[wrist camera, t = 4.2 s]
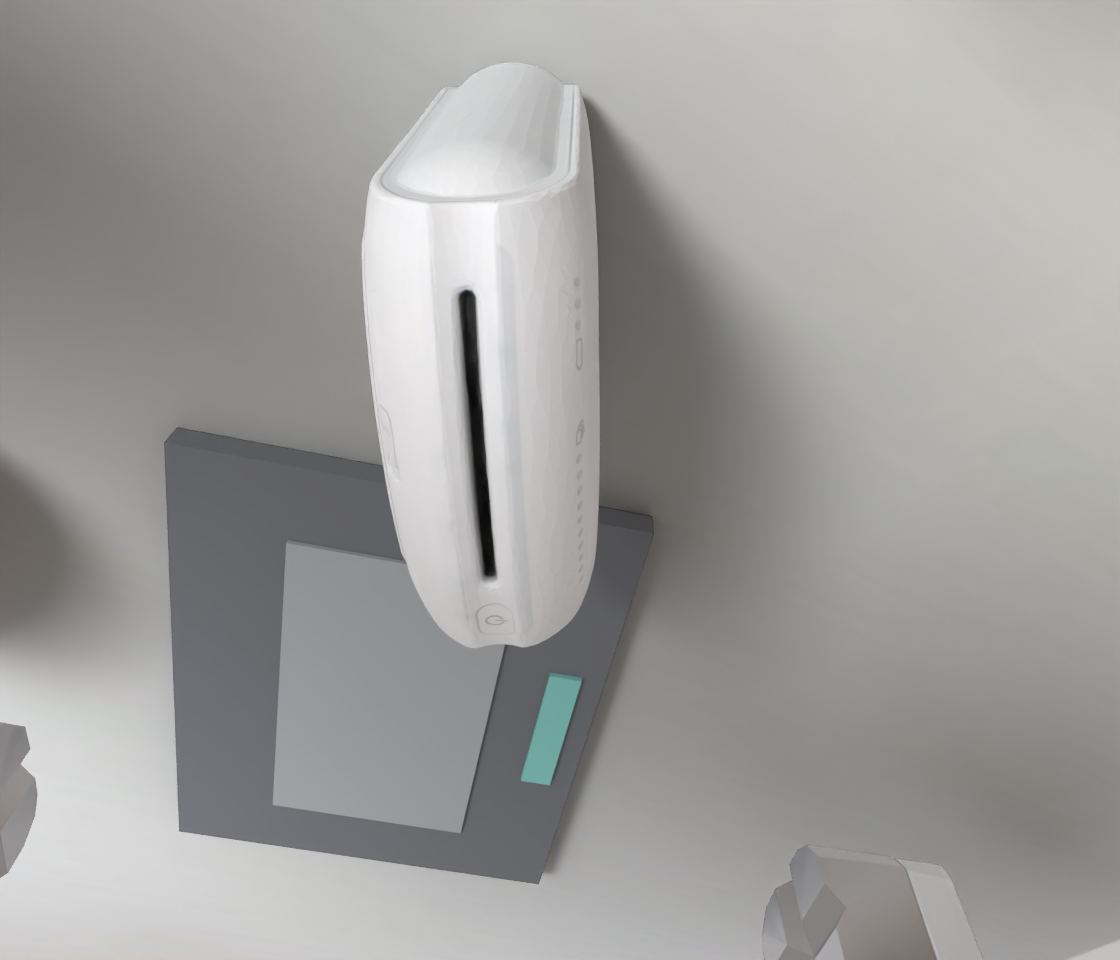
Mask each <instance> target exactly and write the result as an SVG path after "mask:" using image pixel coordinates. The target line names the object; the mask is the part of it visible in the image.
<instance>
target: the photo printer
mask: <svg viewBox="0 0 1120 960" xmlns="http://www.w3.org/2000/svg"><path fill="white" fill-rule="evenodd" d="M362 282H363V299H364V316H365V326H366V338H367V346H368V358H369V368H370V377H371V385H372V393H373V401H374V410H375V417H376V423H377V430H378V436H379V443H380V449H381V456H382V462H383V468H384V474H385V480H386V486H387V491H388V496H389V502H390V507H391V511H392V516H393V520H394V525H395V529H396V533H397V537H398V541H399V545H400V550H401V553H402V555H403V557H404V559H405V561H406V563H407V566H408V570H409V573H410V576H411V578H412V581H413V583H414V586H415V588H416V590H417V592H418V594H419V596H420V598H421V600H422V602H423V603H424V605H425V607H426V609H427V610H428V612H429V613H430V615H431V616H432V618H433V620H434V621H435V622H436V624H437V625H438V626H439V627H440V628H441V629H442V631H443V632H445V633H446V634H447V635H448V636H449V637H451V638H452V639H454V640H455V641H457V642H459V643H460V644H462V645H463V646H466V647H469V648H480V647H484V646H488V645H495V644H507V645H514V646H518V647H522V648H524V647H529V646H533V645H537V644H539V643H541V642H543V641H545V640H547V639H548V638H550V637H551V636H553V635H554V634H556V633H557V632H559V631H560V630H561V629H562V628H564V627H565V626H566V625H567V624H568V623H569V622H570V621H571V620H572V619H573V617H574V616H575V615H576V613H577V612H578V610H579V608H580V606H581V604H582V602H583V599H584V597H585V594H586V591H587V589H588V586H589V582H590V579H591V575H592V571H593V567H594V562H595V555H596V544H597V528H598V510H599V472H600V384H599V290H598V249H597V227H596V209H595V193H594V176H593V162H592V152H591V142H590V132H589V125H588V119H587V113H586V108H585V104H584V101H583V96H582V92H581V89H580V87H579V86H578V85H576V84H571V85H564V84H563V83H562V82H561V81H560V80H559V79H558V78H557V77H555V76H554V75H552V74H551V73H549V72H548V71H546V70H544V69H541V68H539V67H536V66H533V65H529V64H525V63H516V62H508V63H499V64H494V65H491V66H488V67H486V68H483V69H481V70H480V71H478V72H476V73H474V74H473V75H472V76H471V77H469V78H468V79H467V80H466V81H465V82H464V83H463V84H462V85H461V86H459V87H446V88H444V89H442V90H441V91H440V92H439V93H438V94H437V95H436V97H435V98H434V99H433V101H432V102H431V104H430V105H429V106H428V108H427V109H426V111H425V112H424V113H423V114H422V115H421V116H420V118H419V119H418V120H417V122H416V123H415V124H414V126H413V127H412V128H411V129H410V131H409V132H408V133H407V134H406V136H405V137H404V138H403V140H402V141H401V142H400V143H399V144H398V146H397V147H396V148H395V149H394V150H393V152H392V153H391V154H390V156H389V157H388V158H387V159H386V161H385V162H384V163H383V164H382V166H381V167H380V168H379V169H378V170H377V172H376V173H375V174H374V176H373V178H372V180H371V182H370V187H369V192H368V198H367V206H366V216H365V226H364V233H363V238H362Z"/></svg>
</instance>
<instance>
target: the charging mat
mask: <svg viewBox="0 0 1120 960" xmlns="http://www.w3.org/2000/svg"><path fill="white" fill-rule="evenodd" d="M164 445H165V471H166V497H167V523H168V550H169V576H170V602H171V628H172V654H173V680H174V707H175V733H176V759H177V785H178V811H179V831H181V832H188V833H195V834H201V835H208V836H215V837H222V838H229V839H235V840H242V841H249V842H256V843H262V844H269V845H276V846H283V847H290V848H296V849H303V850H310V851H317V852H324V853H330V854H337V855H344V856H351V857H358V858H364V859H371V860H378V861H385V862H392V863H398V864H405V865H412V866H419V867H425V868H432V869H439V870H446V871H453V872H459V873H466V874H473V875H480V876H487V877H493V878H500V879H507V880H514V881H521V882H527V883H534V884H539V882H540V879H541V876H542V873H543V870H544V866H545V863H546V860H547V857H548V854H549V851H550V848H551V845H552V842H553V839H554V836H555V833H556V830H557V827H558V824H559V821H560V818H561V815H562V812H563V809H564V805H565V802H566V799H567V796H568V793H569V790H570V787H571V784H572V781H573V778H574V775H575V772H576V769H577V766H578V763H579V760H580V757H581V754H582V751H583V748H584V745H585V741H586V738H587V735H588V732H589V729H590V726H591V723H592V720H593V717H594V714H595V711H596V708H597V705H598V702H599V699H600V696H601V693H602V690H603V687H604V684H605V680H606V677H607V674H608V671H609V668H610V665H611V662H612V659H613V656H614V653H615V650H616V647H617V644H618V641H619V638H620V635H621V632H622V629H623V626H624V623H625V620H626V616H627V613H628V610H629V607H630V604H631V601H632V598H633V595H634V592H635V589H636V586H637V583H638V580H639V577H640V574H641V571H642V568H643V565H644V562H645V559H646V555H647V552H648V549H649V546H650V543H651V540H652V537H653V534H654V532H653V523H652V517H651V516H646V515H641V514H635V513H630V512H625V511H619V510H614V509H609V508H603V507H599V510H598V528H597V544H596V555H595V562H594V567H593V571H592V575H591V579H590V582H589V586H588V589H587V591H586V594H585V597H584V599H583V602H582V604H581V606H580V608H579V610H578V612H577V613H576V615H575V616H574V617H573V619H572V620H571V621H570V622H569V623H568V624H567V625H566V626H565V627H564V628H562V629H561V630H560V631H559V632H557V633H556V634H554V635H553V636H551V637H550V638H548V639H547V640H545V641H543V642H541V643H539V644H537V645H533V646H529V647H524V648H522V647H518V646H514V645H507V644H495V645H488V646H484V647H480V648H469V647H466V646H463V645H462V644H460V643H459V642H457V641H455V640H454V639H452V638H451V637H449V636H448V635H447V634H446V633H445V632H443V631H442V629H441V628H440V627H439V626H438V625H437V624H436V622H435V621H434V620H433V618H432V616H431V615H430V613H429V612H428V610H427V609H426V607H425V605H424V603H423V602H422V600H421V598H420V596H419V594H418V592H417V590H416V588H415V586H414V583H413V581H412V578H411V576H410V573H409V570H408V566H407V563H406V561H405V559H404V557H403V555H402V553H401V550H400V545H399V541H398V537H397V533H396V529H395V525H394V520H393V516H392V511H391V507H390V502H389V496H388V491H387V486H386V480H385V474H384V468H383V466H379V465H374V464H369V463H363V462H358V461H353V460H347V459H342V458H337V457H331V456H326V455H321V454H315V453H310V452H305V451H299V450H294V449H289V448H283V447H278V446H272V445H267V444H262V443H256V442H251V441H246V440H240V439H235V438H230V437H224V436H219V435H214V434H208V433H203V432H198V431H192V430H187V429H182V428H176V429H175V430H174V432H173V433H172V434H171V435H170V437H169V438H168V439H167V440H166V441H165V443H164Z"/></svg>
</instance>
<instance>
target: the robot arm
mask: <svg viewBox="0 0 1120 960" xmlns="http://www.w3.org/2000/svg"><path fill="white" fill-rule="evenodd" d="M29 750H30V746H29V741H28V737H27V733H26V728H25V727H24V726H18V725H13V724H7V723H1V722H0V878H1V877H2V876H4V875H5V874H7V873H8V872H9V870H10V869H11V867H12V865H13V863H14V862H15V860H16V858H17V857H18V855H19V853H20V852H21V850H22V848H23V846H24V844H25V842H26V839H27V836H28V833H29V831H30V828H31V825H32V823H33V820H34V817H35V811H36V803H37V788H36V781H35V778H34V777H33V776H32V775H31V774H30V773H29V772H28V771H27V770H26V769H25V768H24V767H23V766H22V765H21V762H22V761H23V759H24V758H25V756H26V755H27V753H28V752H29ZM789 865H790V869H791V874H792V879H793V880H791V881H790V882H788V883H786V884H784V885H782V886H780V887H778V888H776V889H775V891H774V893H773V895H772V897H771V899H770V901H769V903H768V905H767V907H766V913H765V919H764V925H763V932H762V936H763V956H764V960H983V957H982V954H981V952H980V949H979V947H978V944H977V942H976V939H975V937H974V934H973V932H972V929H971V927H970V924H969V922H968V919H967V917H966V914H965V912H964V909H963V907H962V904H961V902H960V899H959V897H958V894H957V892H956V889H955V887H954V884H953V882H952V879H951V877H950V875H949V874H948V873H947V872H946V871H945V869H944V868H943V867H942V866H940V865H936V864H931V863H924V862H917V861H910V860H903V859H894V858H891V857H890V856H885V855H877V854H870V853H863V852H855V851H848V850H841V849H834V848H826V847H819V846H812V845H806V846H804V847H802V848H800V849H798V850H797V852H796V854H795V855H794V857H793V859H792V860H791V862H790V864H789Z"/></svg>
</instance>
